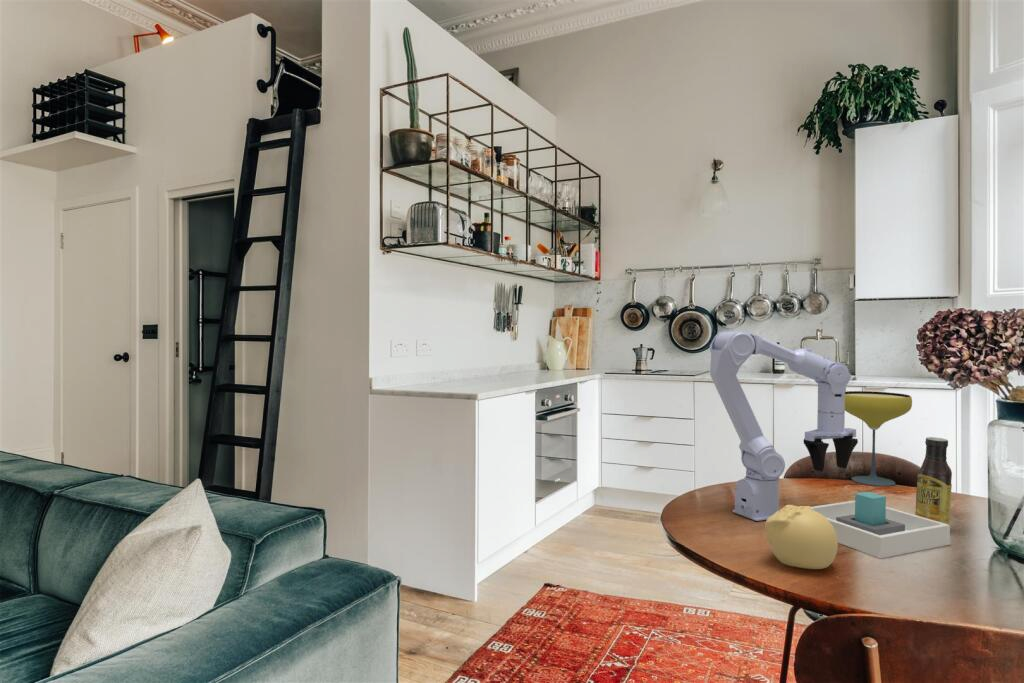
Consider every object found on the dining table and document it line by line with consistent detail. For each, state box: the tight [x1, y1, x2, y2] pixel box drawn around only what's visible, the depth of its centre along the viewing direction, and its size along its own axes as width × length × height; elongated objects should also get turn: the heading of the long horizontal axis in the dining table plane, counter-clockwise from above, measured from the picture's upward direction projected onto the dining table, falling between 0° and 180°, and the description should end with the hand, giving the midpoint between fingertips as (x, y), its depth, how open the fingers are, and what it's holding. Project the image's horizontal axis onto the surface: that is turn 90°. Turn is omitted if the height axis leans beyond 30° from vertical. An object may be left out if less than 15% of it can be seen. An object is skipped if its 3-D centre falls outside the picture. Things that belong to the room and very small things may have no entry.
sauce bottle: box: [914, 436, 953, 525], centre depth 134 cm, size 7×6×20 cm
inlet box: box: [810, 499, 951, 559], centre depth 130 cm, size 20×20×4 cm
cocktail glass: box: [845, 390, 913, 487], centre depth 176 cm, size 18×18×25 cm
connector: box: [854, 491, 887, 526], centre depth 130 cm, size 4×4×8 cm
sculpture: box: [764, 504, 839, 570], centre depth 115 cm, size 11×12×11 cm
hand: (830, 469), depth 146 cm, fingers open, 7 cm apart
